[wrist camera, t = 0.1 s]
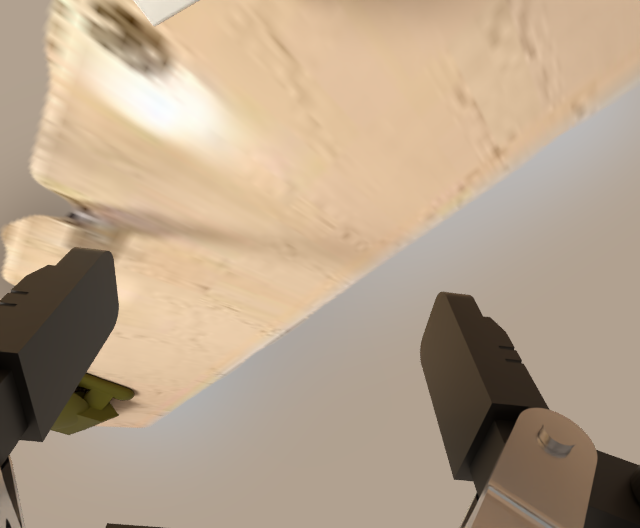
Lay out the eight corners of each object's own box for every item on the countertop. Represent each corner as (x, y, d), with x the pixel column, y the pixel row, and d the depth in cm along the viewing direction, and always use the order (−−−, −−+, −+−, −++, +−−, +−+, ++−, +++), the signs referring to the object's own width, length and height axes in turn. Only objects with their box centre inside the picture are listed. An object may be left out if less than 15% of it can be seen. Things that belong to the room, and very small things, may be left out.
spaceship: (140, 389, 101) (126, 432, 95) (81, 415, 118) (66, 454, 112) (-31, 327, 82) (-62, 378, 76) (-72, 370, 99) (-100, 414, 93)
